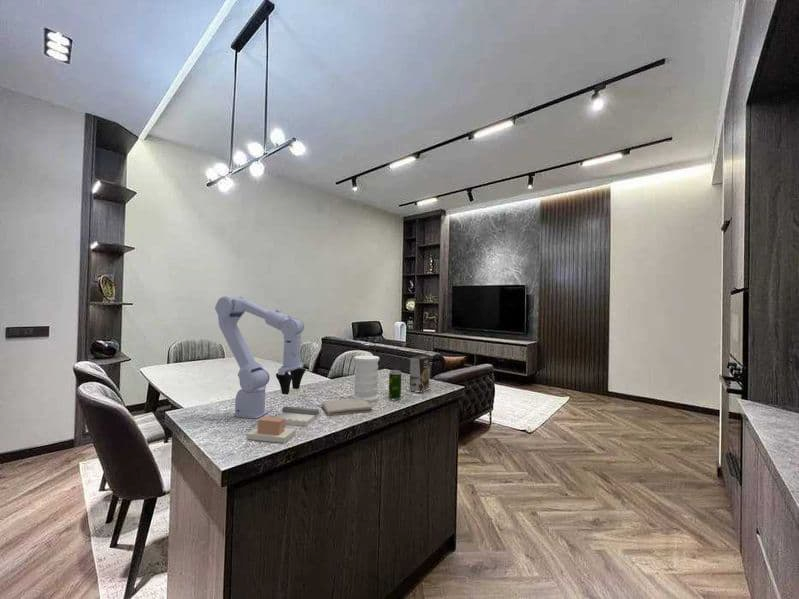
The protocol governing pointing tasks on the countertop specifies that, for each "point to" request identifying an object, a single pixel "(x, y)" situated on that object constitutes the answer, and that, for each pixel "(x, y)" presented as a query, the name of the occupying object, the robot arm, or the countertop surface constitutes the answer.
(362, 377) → the decorative container
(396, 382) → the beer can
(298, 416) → the ticket board
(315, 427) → the countertop surface
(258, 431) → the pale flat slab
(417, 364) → the coffee box
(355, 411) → the washcloth
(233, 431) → the countertop surface
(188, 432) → the countertop surface
